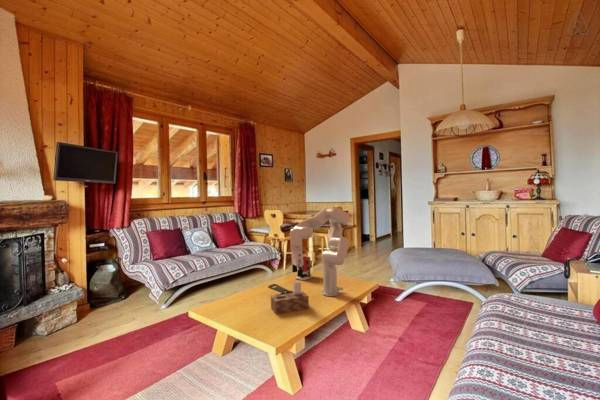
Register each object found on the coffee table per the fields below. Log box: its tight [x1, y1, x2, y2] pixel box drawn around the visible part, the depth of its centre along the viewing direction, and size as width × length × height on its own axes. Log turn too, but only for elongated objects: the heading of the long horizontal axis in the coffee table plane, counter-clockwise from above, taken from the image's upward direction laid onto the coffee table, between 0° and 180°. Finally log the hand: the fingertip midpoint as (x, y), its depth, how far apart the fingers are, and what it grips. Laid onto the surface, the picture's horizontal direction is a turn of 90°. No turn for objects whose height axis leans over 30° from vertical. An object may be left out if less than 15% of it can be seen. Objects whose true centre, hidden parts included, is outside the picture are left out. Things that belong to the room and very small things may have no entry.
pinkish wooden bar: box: [292, 281, 302, 296], centre depth 195 cm, size 4×2×12 cm, turn 111°
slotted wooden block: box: [270, 290, 310, 315], centre depth 194 cm, size 22×10×8 cm, turn 111°
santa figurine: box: [295, 249, 313, 281], centre depth 262 cm, size 17×14×25 cm
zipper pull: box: [267, 283, 294, 295], centre depth 216 cm, size 9×7×25 cm
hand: (297, 273), depth 196 cm, fingers open, 9 cm apart
